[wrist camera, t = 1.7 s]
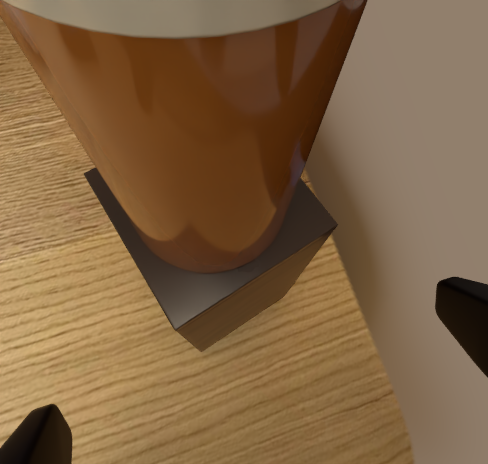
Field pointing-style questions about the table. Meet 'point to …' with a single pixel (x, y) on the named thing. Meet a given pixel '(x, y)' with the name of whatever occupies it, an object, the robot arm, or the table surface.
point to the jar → (192, 108)
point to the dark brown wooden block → (228, 282)
